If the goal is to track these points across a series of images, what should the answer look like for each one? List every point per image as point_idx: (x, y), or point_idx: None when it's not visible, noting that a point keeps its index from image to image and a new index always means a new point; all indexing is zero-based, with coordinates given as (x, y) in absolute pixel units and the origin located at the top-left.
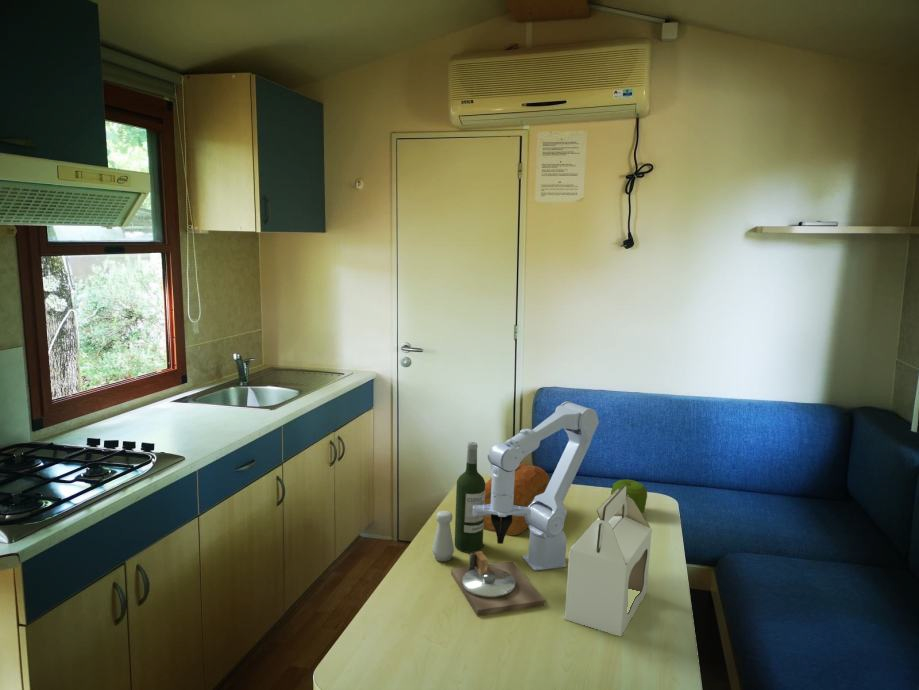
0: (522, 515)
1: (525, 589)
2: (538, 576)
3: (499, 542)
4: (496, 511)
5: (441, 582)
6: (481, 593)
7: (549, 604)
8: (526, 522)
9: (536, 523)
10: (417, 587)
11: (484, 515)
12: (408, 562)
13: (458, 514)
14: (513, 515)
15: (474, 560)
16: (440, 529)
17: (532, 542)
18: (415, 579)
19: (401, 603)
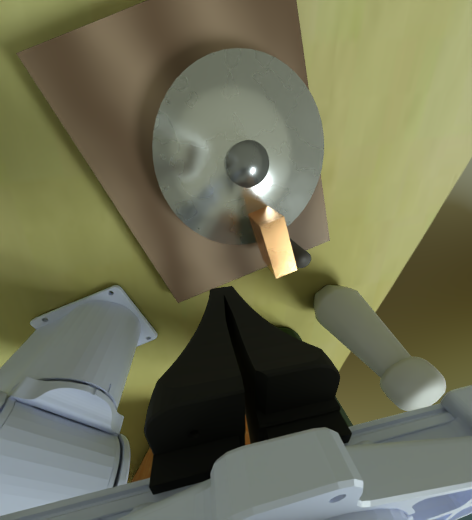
0: (39, 515)
1: (116, 143)
2: (102, 261)
3: (226, 289)
4: (373, 513)
5: (348, 194)
6: (272, 57)
7: (17, 80)
8: None
9: (59, 444)
10: (406, 162)
11: (248, 432)
12: (394, 269)
13: (344, 412)
14: (139, 485)
15: None
16: (396, 340)
17: (109, 358)
18: (400, 201)
19: (469, 65)
